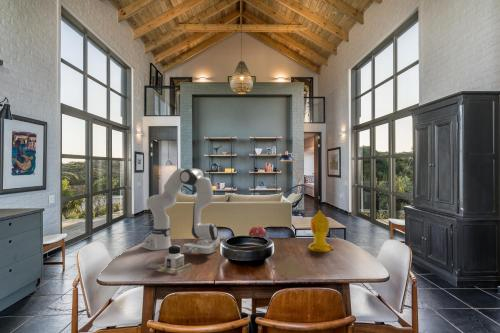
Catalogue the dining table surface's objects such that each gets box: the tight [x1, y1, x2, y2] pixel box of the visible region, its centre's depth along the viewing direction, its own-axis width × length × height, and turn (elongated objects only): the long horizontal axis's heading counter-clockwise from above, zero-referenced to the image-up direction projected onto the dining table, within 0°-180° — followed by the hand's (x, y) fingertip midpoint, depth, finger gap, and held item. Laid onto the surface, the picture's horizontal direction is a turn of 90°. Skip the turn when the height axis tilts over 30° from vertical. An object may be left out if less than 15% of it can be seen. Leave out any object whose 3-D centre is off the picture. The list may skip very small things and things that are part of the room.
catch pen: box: [156, 262, 192, 275], centre depth 164 cm, size 14×13×2 cm
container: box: [164, 245, 185, 269], centre depth 164 cm, size 8×8×13 cm
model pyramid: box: [272, 254, 312, 279], centre depth 161 cm, size 17×17×10 cm
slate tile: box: [145, 263, 161, 270], centre depth 167 cm, size 6×6×2 cm
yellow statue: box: [308, 209, 334, 253], centre depth 210 cm, size 18×24×28 cm
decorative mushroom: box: [248, 225, 267, 238], centre depth 217 cm, size 13×13×15 cm
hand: (190, 251), depth 177 cm, fingers closed
